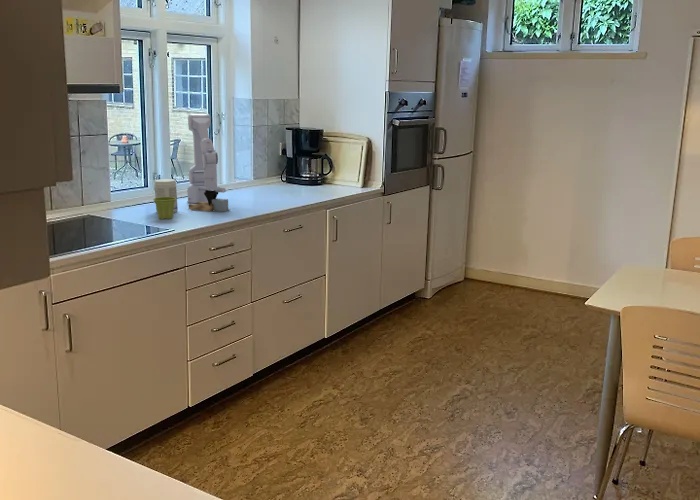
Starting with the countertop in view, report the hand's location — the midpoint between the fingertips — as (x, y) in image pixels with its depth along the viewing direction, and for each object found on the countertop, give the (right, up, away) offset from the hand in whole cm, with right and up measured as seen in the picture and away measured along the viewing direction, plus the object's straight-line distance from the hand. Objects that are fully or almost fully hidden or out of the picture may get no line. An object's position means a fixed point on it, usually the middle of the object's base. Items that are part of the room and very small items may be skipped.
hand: (211, 206), depth 324 cm
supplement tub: (-19, -3, -7) cm, 21 cm away
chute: (-3, -1, +2) cm, 4 cm away
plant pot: (-16, -7, -22) cm, 28 cm away
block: (+4, -2, -1) cm, 5 cm away
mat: (+5, -2, -2) cm, 6 cm away
